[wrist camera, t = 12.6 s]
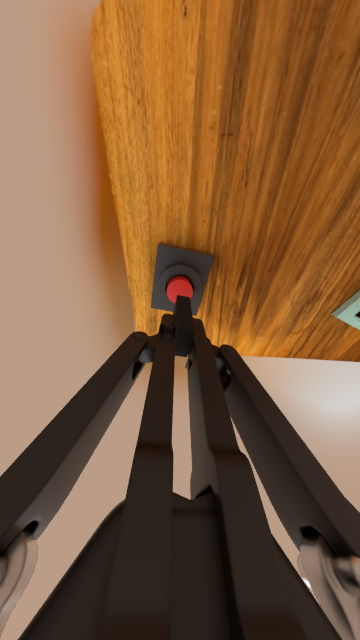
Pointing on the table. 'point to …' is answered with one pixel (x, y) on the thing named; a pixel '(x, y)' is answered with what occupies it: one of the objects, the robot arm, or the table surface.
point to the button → (179, 288)
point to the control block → (179, 274)
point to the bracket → (350, 311)
